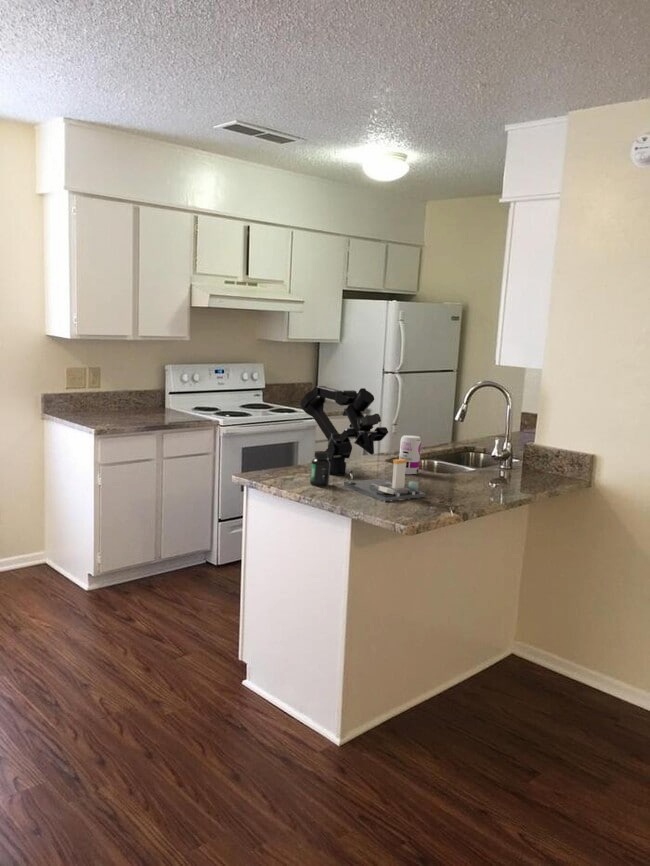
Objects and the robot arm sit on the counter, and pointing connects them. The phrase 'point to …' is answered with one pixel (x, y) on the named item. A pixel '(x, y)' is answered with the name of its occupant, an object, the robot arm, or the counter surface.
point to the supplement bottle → (320, 469)
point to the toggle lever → (351, 474)
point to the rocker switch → (386, 489)
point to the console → (372, 488)
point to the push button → (413, 485)
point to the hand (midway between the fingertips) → (372, 454)
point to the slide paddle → (399, 476)
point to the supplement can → (410, 453)
